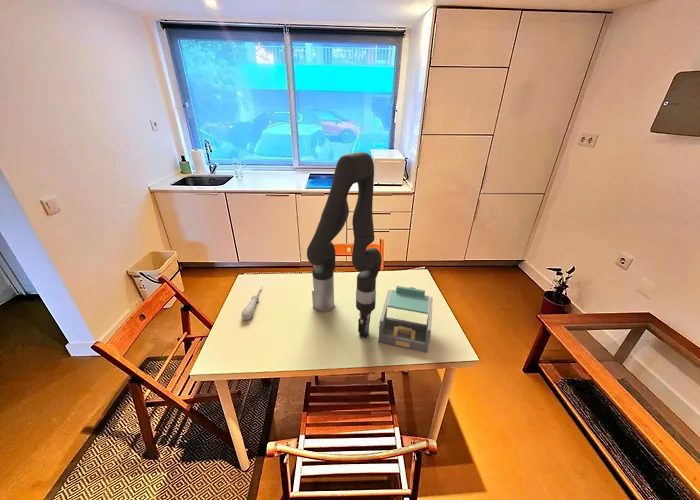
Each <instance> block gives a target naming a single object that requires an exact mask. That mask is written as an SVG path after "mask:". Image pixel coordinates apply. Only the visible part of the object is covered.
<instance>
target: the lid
mask: <svg viewBox="0 0 700 500" xmlns="http://www.w3.org/2000/svg"><path fill="white" fill-rule="evenodd" d="M413 288H414V287H413ZM413 288H409V287H407V286H400V285H396V287H395V289H391V293H390V297H389V300H388V305H387V308H390V309H391V308H392V309H397V310H402V311H409V312H413V313H419V314H425V315H428V313H429V300H430V296H429V295H426V290H425V289H418V288H416V289H413Z"/></svg>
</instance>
